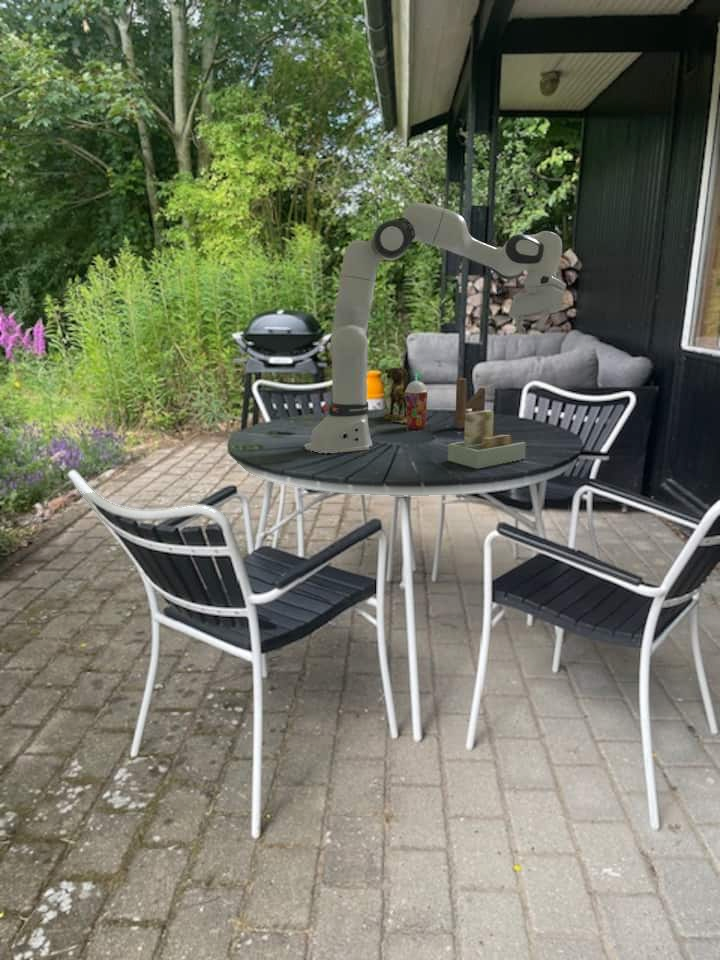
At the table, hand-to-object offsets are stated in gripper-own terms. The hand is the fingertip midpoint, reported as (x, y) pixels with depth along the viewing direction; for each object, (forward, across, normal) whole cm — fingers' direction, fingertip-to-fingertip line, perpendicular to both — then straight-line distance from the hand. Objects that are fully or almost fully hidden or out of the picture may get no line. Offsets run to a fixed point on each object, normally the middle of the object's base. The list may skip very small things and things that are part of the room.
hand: (529, 329), depth 214 cm
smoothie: (+32, -51, 0) cm, 60 cm away
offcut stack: (+43, +5, -6) cm, 44 cm away
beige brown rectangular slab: (+43, 0, -8) cm, 43 cm away
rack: (+43, +3, -6) cm, 43 cm away
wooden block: (+27, -42, +16) cm, 52 cm away
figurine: (+28, -70, +3) cm, 76 cm away
